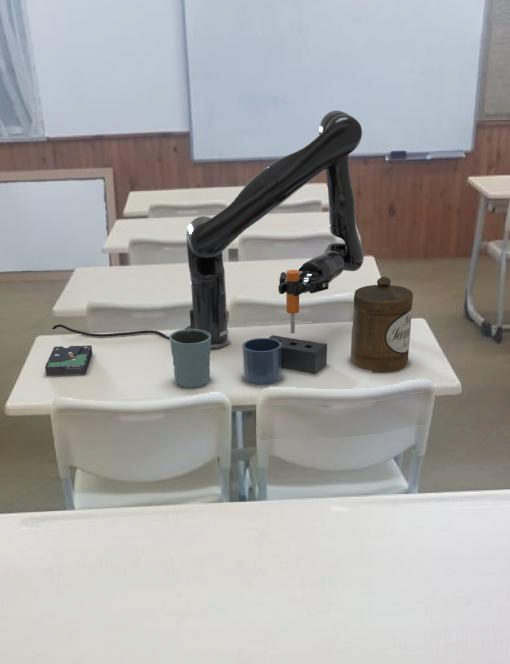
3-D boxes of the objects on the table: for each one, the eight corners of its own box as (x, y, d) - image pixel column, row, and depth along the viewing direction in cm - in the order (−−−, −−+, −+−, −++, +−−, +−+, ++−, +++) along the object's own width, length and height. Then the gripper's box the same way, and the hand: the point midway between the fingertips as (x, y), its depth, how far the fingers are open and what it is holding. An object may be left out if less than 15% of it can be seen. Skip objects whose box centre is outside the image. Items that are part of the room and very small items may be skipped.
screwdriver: (284, 333, 214) (283, 272, 206) (289, 329, 216) (290, 269, 208) (295, 335, 213) (295, 274, 204) (301, 331, 215) (301, 270, 207)
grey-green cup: (179, 372, 217) (176, 327, 211) (217, 375, 216) (215, 329, 209) (168, 388, 209) (164, 341, 203) (207, 390, 207) (205, 344, 201)
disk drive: (54, 356, 230) (46, 376, 217) (53, 346, 228) (44, 366, 216) (93, 354, 230) (86, 374, 218) (91, 344, 229) (85, 364, 216)
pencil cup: (236, 382, 211) (235, 348, 206) (255, 369, 218) (254, 335, 213) (270, 389, 207) (270, 354, 202) (288, 375, 214) (288, 341, 209)
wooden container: (402, 375, 212) (408, 288, 200) (344, 369, 216) (347, 283, 204) (412, 354, 224) (419, 271, 212) (357, 349, 228) (361, 267, 216)
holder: (260, 365, 220) (259, 343, 217) (272, 356, 225) (272, 334, 222) (314, 375, 213) (315, 353, 210) (326, 366, 219) (327, 344, 215)
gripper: (293, 254, 220) (261, 272, 207) (343, 261, 214) (313, 279, 201) (293, 283, 224) (262, 302, 211) (342, 290, 218) (313, 310, 205)
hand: (287, 291), depth 206 cm, fingers closed on screwdriver, 3 cm apart
